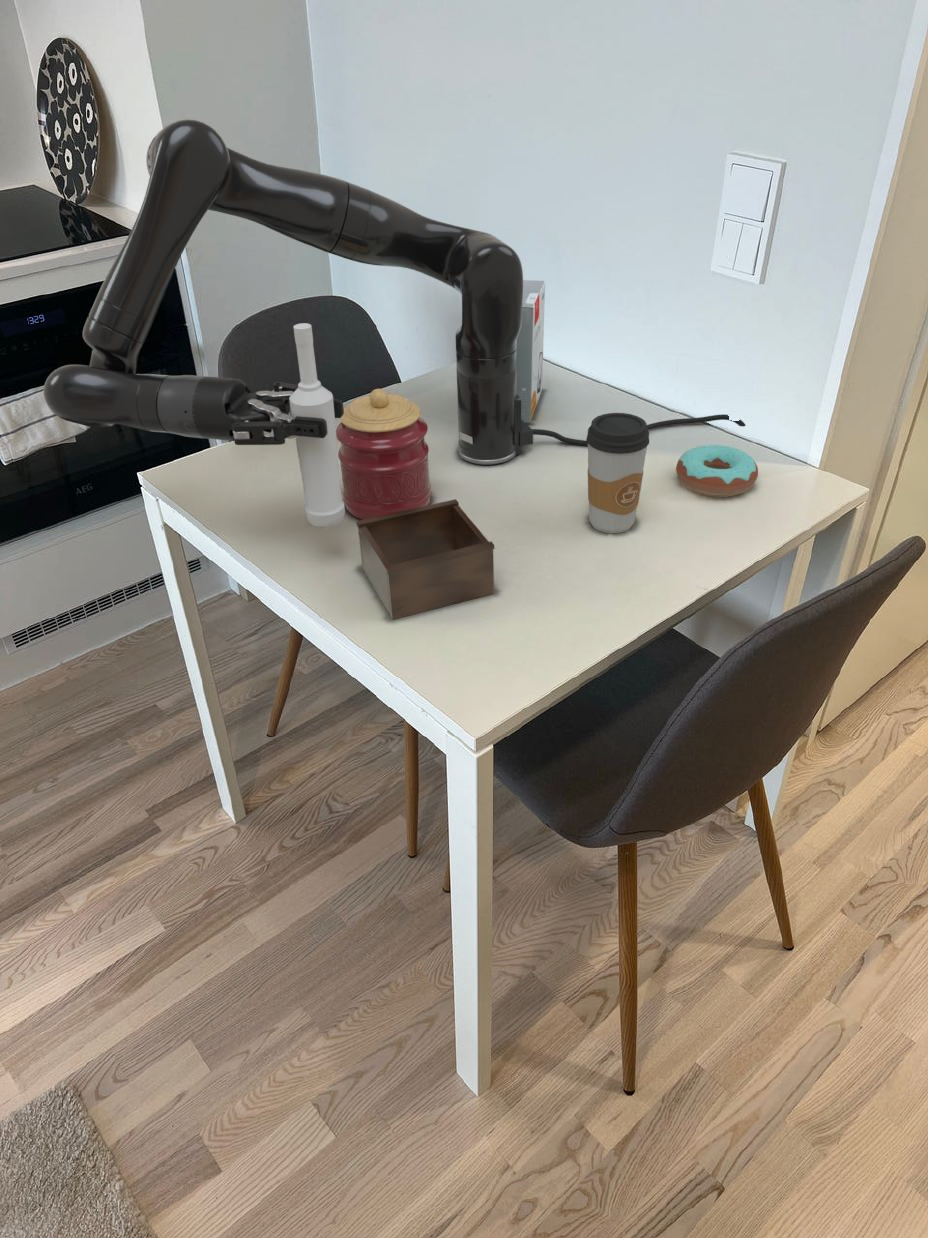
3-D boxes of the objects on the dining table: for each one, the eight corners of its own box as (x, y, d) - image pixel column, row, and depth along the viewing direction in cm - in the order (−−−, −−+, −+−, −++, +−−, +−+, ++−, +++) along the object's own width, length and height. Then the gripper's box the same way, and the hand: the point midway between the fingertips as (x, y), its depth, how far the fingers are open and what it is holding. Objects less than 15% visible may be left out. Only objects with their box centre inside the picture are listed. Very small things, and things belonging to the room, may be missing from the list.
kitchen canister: (411, 530, 131) (402, 413, 121) (328, 517, 135) (314, 402, 125) (444, 489, 141) (439, 377, 131) (366, 477, 145) (356, 367, 135)
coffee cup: (603, 543, 127) (610, 442, 118) (570, 517, 133) (574, 419, 124) (653, 528, 130) (664, 428, 121) (618, 503, 136) (626, 406, 127)
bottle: (306, 508, 123) (281, 319, 108) (346, 506, 123) (326, 317, 108) (304, 528, 118) (277, 335, 104) (345, 526, 119) (324, 332, 104)
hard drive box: (531, 425, 159) (532, 307, 147) (487, 422, 160) (485, 306, 148) (543, 389, 171) (545, 278, 159) (502, 387, 172) (501, 277, 161)
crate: (457, 545, 128) (455, 498, 123) (495, 594, 118) (494, 544, 114) (361, 568, 124) (356, 520, 119) (392, 620, 114) (387, 570, 110)
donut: (682, 502, 136) (685, 477, 133) (668, 465, 145) (671, 441, 143) (764, 500, 135) (769, 476, 133) (745, 463, 145) (749, 439, 143)
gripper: (171, 401, 107) (309, 413, 104) (224, 357, 119) (351, 366, 115) (183, 460, 112) (316, 473, 108) (234, 412, 123) (356, 422, 120)
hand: (333, 418), depth 112 cm, fingers closed on bottle, 5 cm apart
